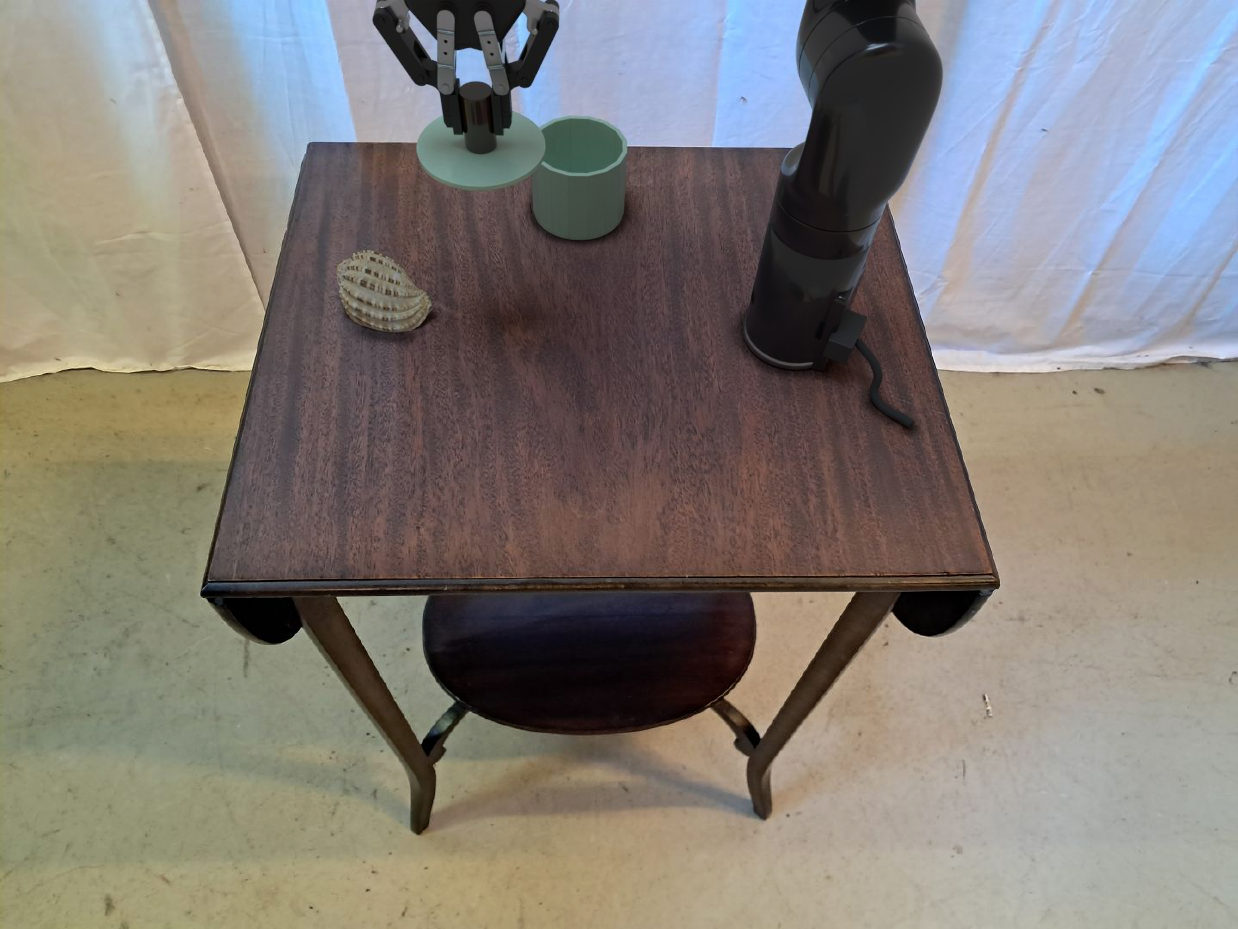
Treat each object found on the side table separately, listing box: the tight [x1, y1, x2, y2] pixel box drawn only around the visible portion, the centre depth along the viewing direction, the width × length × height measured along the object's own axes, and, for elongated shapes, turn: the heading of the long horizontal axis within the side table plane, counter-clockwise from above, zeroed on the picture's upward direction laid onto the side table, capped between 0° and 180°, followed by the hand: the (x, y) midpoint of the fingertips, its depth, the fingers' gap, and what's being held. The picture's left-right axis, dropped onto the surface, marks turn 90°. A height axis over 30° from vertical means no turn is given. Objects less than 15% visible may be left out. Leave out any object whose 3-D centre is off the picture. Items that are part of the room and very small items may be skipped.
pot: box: [530, 115, 628, 241], centre depth 95 cm, size 10×10×8 cm
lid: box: [415, 80, 546, 192], centre depth 70 cm, size 10×10×6 cm
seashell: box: [335, 249, 434, 333], centre depth 87 cm, size 8×6×10 cm
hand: (480, 128), depth 70 cm, fingers closed on lid, 2 cm apart
